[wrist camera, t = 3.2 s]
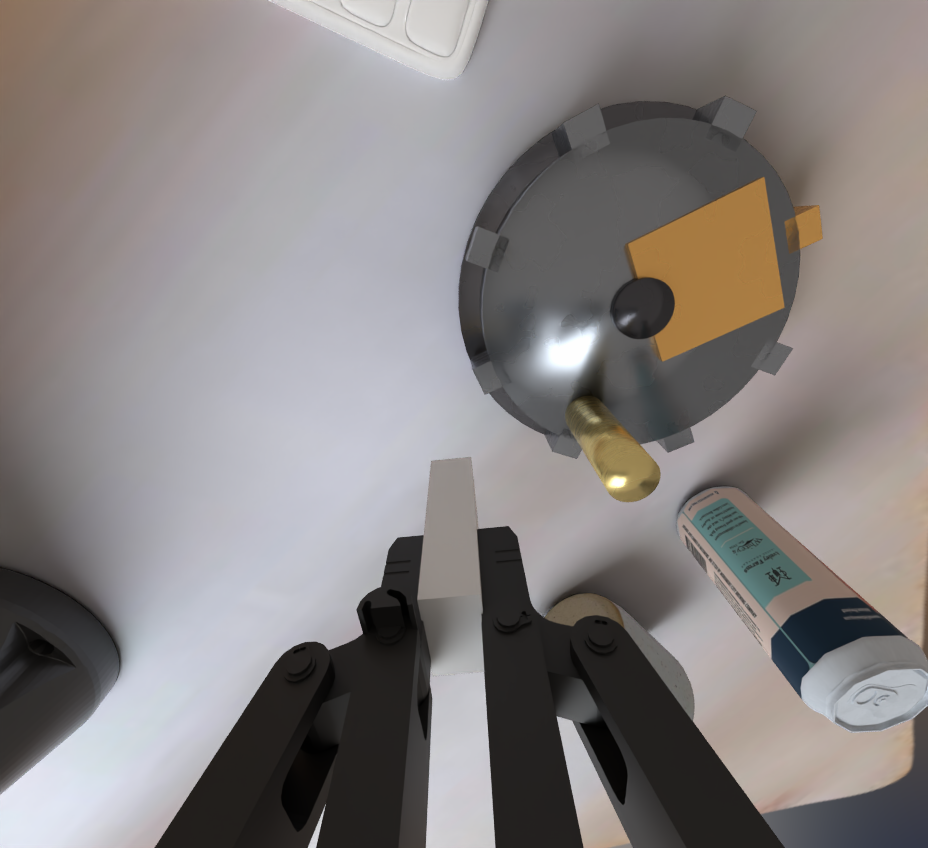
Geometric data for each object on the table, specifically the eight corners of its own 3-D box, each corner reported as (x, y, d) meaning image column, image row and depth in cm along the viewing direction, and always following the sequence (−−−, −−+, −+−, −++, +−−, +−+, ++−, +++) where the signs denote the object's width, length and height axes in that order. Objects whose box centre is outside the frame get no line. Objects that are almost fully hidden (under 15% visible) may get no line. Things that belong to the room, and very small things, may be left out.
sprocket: (420, 396, 23) (407, 475, 15) (538, 33, 16) (610, -122, 9) (677, 475, 25) (770, 575, 18) (860, 187, 19) (1113, 161, 12)
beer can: (721, 549, 29) (891, 746, 18) (659, 534, 28) (795, 730, 17) (762, 491, 27) (979, 671, 16) (696, 473, 26) (876, 649, 15)
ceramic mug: (599, 564, 29) (645, 673, 22) (662, 625, 31) (722, 739, 25) (482, 640, 32) (490, 757, 25) (549, 690, 34) (574, 808, 27)
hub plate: (418, 392, 23) (418, 396, 23) (533, 36, 17) (536, 31, 17) (672, 471, 26) (676, 475, 25) (850, 187, 20) (859, 186, 19)
